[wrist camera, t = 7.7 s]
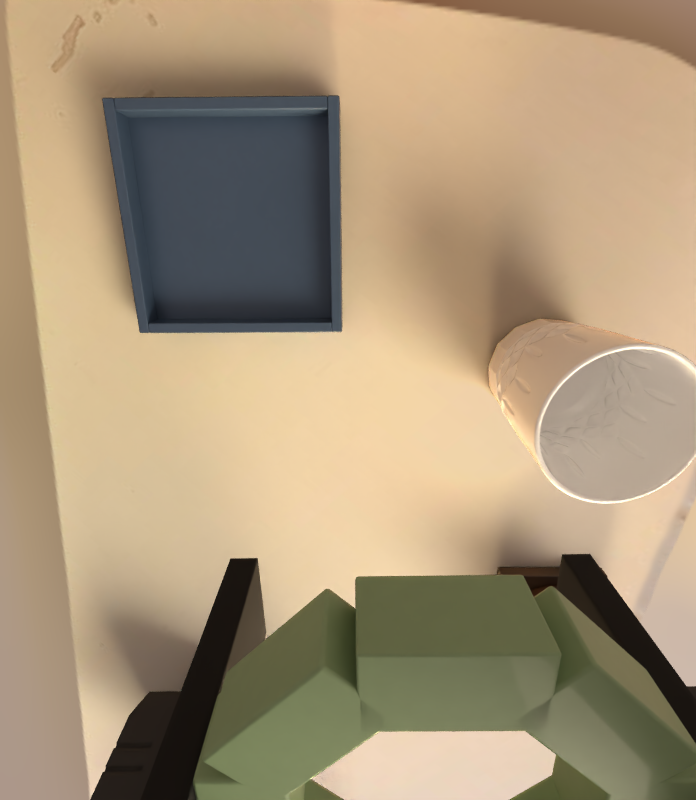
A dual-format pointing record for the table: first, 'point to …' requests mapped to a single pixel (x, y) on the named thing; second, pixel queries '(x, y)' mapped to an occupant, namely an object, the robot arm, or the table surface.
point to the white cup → (597, 407)
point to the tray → (230, 211)
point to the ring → (443, 691)
